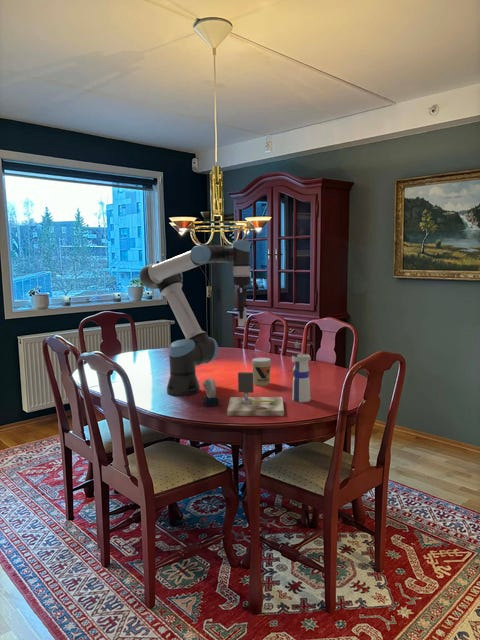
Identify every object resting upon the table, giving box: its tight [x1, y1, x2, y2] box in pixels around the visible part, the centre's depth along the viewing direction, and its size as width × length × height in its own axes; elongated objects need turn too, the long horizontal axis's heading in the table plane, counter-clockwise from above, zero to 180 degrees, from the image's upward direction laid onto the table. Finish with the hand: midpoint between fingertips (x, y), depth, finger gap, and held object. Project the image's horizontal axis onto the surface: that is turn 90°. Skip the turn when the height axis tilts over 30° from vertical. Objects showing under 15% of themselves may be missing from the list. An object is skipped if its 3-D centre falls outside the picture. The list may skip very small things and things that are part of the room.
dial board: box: [226, 396, 285, 417], centre depth 197 cm, size 22×18×2 cm
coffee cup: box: [251, 357, 272, 387], centre depth 233 cm, size 9×9×12 cm
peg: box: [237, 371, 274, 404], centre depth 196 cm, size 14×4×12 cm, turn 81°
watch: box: [202, 378, 220, 408], centre depth 202 cm, size 6×8×11 cm
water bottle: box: [291, 340, 312, 403], centre depth 206 cm, size 8×9×25 cm
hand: (242, 323), depth 215 cm, fingers open, 13 cm apart
